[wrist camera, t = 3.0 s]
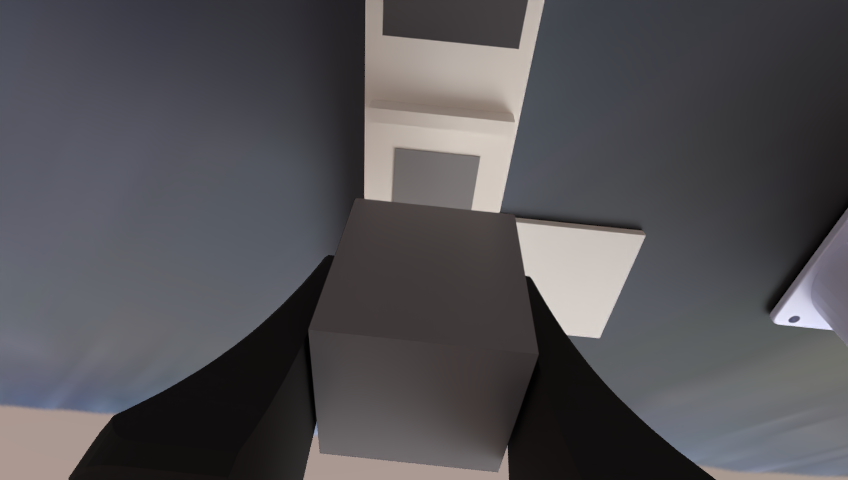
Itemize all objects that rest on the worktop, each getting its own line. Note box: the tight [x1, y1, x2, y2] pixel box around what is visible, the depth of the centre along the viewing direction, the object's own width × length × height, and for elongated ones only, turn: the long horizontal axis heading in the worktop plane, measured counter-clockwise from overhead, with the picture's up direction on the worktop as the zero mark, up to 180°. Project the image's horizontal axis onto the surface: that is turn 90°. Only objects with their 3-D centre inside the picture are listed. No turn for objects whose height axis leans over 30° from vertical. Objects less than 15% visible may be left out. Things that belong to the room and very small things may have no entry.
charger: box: [308, 198, 539, 472], centre depth 12 cm, size 4×5×5 cm
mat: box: [515, 218, 646, 338], centre depth 24 cm, size 7×7×1 cm
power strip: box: [364, 0, 544, 213], centre depth 17 cm, size 6×20×6 cm, turn 175°
